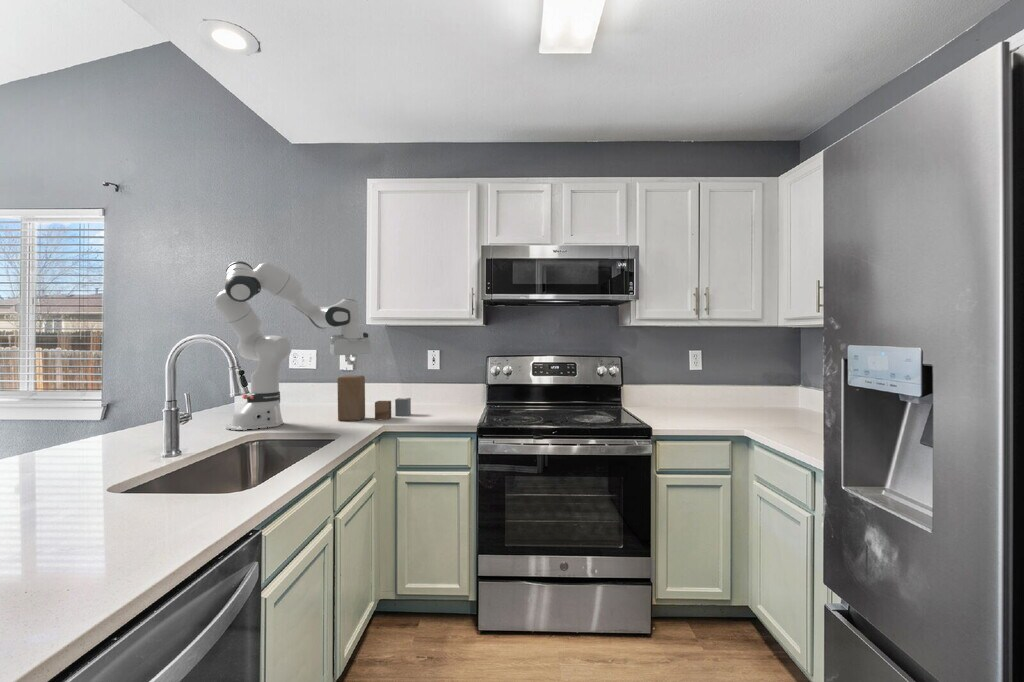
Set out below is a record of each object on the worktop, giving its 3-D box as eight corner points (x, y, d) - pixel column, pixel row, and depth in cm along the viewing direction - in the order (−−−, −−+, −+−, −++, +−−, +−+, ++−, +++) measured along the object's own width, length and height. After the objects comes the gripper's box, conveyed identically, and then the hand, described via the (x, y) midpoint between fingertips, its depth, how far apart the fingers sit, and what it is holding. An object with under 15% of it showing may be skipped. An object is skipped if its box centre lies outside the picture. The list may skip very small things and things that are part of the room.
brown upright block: (387, 419, 237) (387, 401, 237) (374, 419, 237) (374, 401, 237) (391, 417, 243) (391, 400, 243) (378, 417, 243) (378, 400, 243)
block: (359, 421, 233) (358, 377, 233) (337, 421, 233) (336, 377, 233) (365, 417, 243) (365, 375, 243) (344, 417, 243) (344, 375, 243)
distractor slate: (407, 416, 246) (407, 399, 246) (395, 416, 247) (395, 399, 247) (410, 414, 252) (410, 397, 252) (398, 414, 253) (398, 397, 253)
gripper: (334, 334, 227) (335, 366, 228) (372, 334, 243) (373, 363, 244) (326, 334, 231) (327, 365, 231) (364, 334, 247) (365, 363, 248)
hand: (351, 364), depth 238 cm, fingers closed
